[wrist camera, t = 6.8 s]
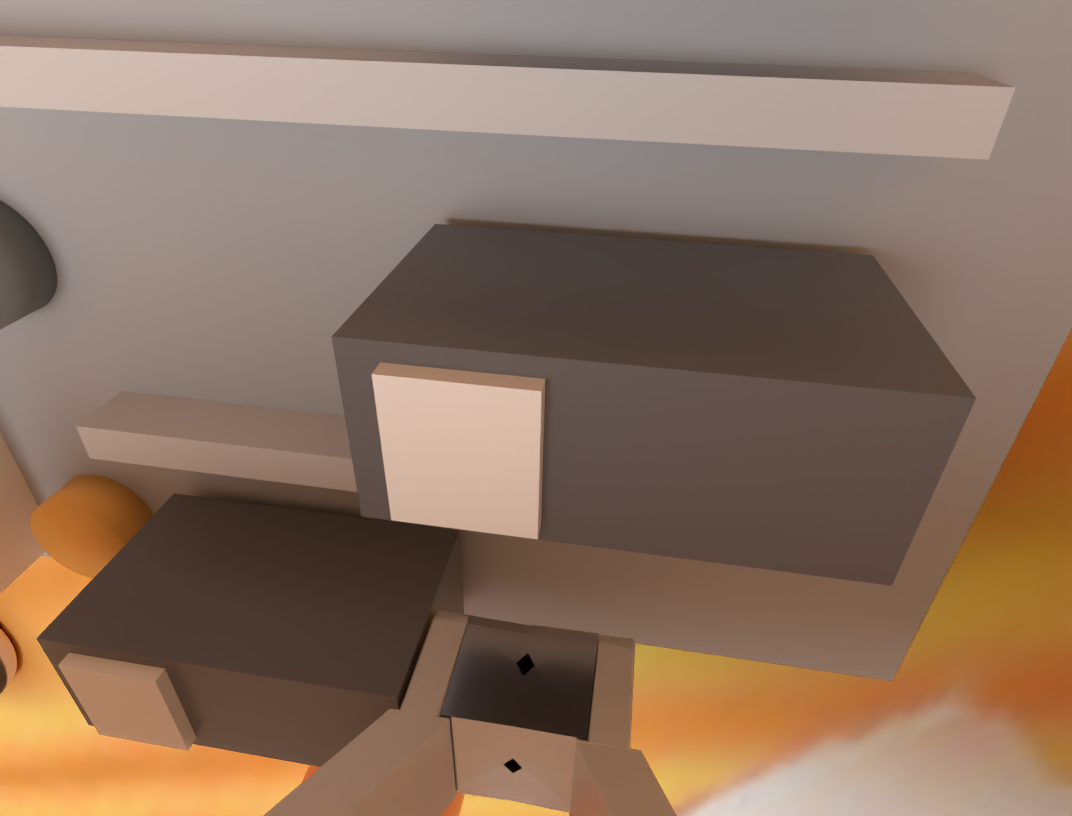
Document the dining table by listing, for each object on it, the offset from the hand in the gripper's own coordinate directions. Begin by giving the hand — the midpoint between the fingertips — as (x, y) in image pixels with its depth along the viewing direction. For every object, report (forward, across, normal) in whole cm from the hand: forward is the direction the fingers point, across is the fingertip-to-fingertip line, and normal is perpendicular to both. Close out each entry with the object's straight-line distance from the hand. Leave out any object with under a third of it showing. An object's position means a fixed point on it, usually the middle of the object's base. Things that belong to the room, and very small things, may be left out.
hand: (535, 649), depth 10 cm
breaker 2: (+2, -1, -5) cm, 5 cm away
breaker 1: (+2, +4, 0) cm, 4 cm away
